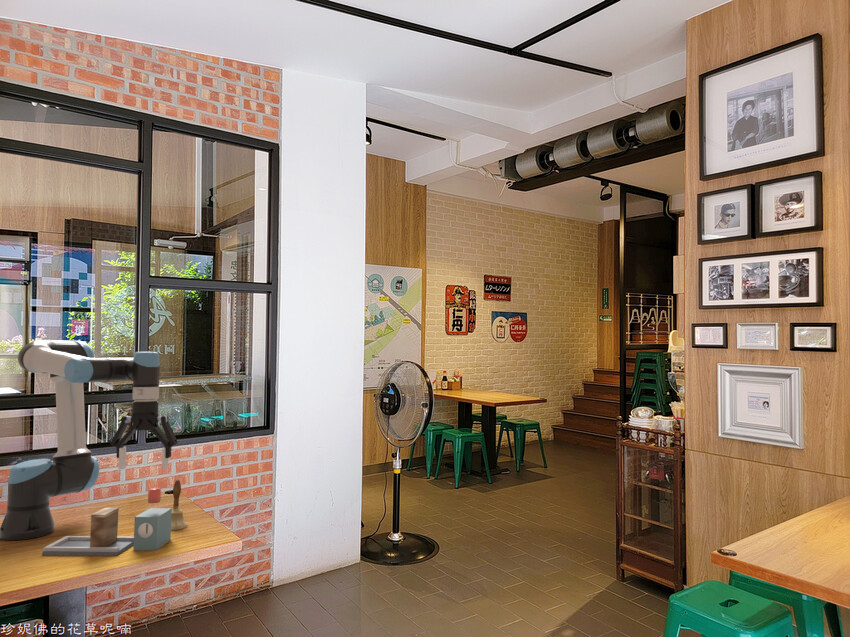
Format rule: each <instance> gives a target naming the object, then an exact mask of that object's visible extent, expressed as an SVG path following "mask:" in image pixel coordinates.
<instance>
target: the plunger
mask: <svg viewBox="0 0 850 637" xmlns="http://www.w3.org/2000/svg"><path fill="white" fill-rule="evenodd" d="M161 494H162V488H161V487H151V488H148V491H147V503H148V504H157V503H161V497H162V495H161Z"/></svg>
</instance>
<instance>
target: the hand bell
mask: <svg viewBox="0 0 850 637" xmlns="http://www.w3.org/2000/svg"><path fill="white" fill-rule="evenodd" d="M181 492H182V486H181V481H180V479H176V480H175V481H174V484H173V487H172V495H173V505H172V506H173V507H172V514H171V531H178V530H182V529H185V528H187V527H188V526H189V524H188V523H187V522H186V520H185V519H184V513H183V509H180V508H179V502H180V501H179V500H180V496H181Z"/></svg>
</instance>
